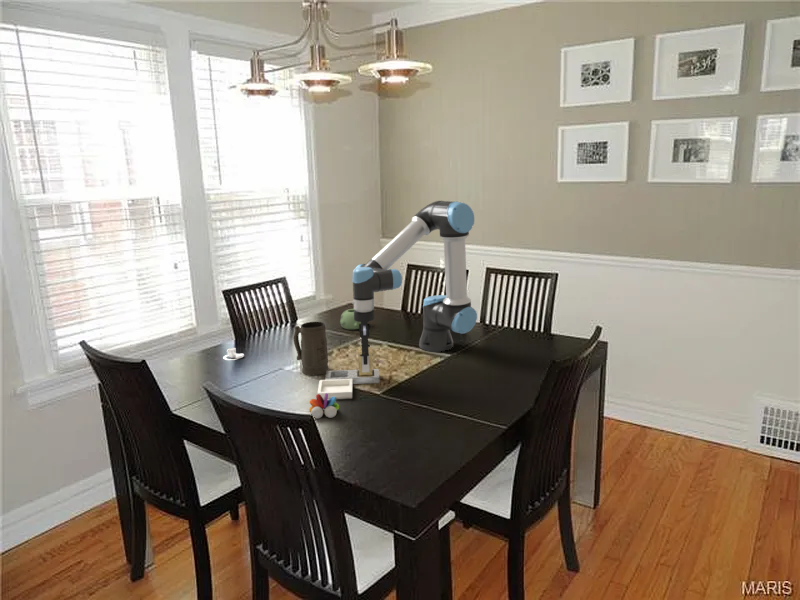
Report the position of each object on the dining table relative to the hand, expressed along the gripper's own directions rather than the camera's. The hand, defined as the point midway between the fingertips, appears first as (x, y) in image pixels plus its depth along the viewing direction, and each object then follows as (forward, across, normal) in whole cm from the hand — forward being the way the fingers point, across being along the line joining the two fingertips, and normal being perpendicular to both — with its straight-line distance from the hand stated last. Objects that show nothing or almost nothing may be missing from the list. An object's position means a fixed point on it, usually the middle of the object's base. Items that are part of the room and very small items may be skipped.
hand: (365, 367), depth 204 cm
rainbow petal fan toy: (+5, +28, -14) cm, 32 cm away
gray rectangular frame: (+5, 0, -5) cm, 7 cm away
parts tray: (+5, +11, -11) cm, 16 cm away
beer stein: (+5, -12, -22) cm, 26 cm away
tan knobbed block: (+5, 0, 0) cm, 5 cm away
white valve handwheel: (+5, -28, -56) cm, 63 cm away
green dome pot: (+5, -68, -5) cm, 68 cm away
